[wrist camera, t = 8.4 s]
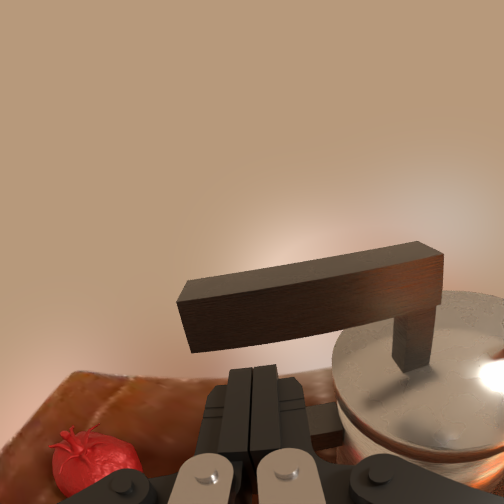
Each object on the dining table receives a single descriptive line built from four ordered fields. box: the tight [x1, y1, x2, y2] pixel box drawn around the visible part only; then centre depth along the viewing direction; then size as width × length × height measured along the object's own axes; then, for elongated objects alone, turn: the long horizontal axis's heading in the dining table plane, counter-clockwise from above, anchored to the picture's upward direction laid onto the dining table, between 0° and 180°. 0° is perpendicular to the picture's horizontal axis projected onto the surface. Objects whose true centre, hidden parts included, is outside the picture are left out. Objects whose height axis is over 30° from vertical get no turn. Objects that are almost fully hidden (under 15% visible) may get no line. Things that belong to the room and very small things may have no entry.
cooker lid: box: [176, 241, 504, 464], centre depth 17 cm, size 26×19×9 cm
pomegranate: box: [48, 424, 143, 498], centre depth 21 cm, size 10×10×9 cm
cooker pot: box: [306, 401, 504, 493], centre depth 19 cm, size 26×18×12 cm
